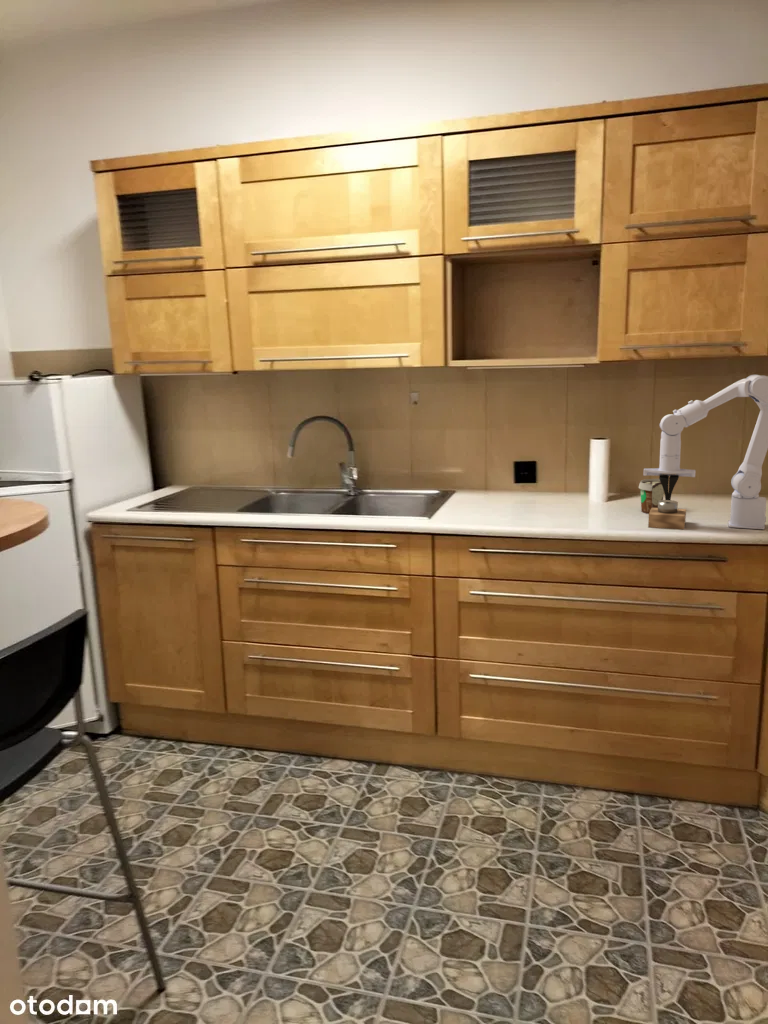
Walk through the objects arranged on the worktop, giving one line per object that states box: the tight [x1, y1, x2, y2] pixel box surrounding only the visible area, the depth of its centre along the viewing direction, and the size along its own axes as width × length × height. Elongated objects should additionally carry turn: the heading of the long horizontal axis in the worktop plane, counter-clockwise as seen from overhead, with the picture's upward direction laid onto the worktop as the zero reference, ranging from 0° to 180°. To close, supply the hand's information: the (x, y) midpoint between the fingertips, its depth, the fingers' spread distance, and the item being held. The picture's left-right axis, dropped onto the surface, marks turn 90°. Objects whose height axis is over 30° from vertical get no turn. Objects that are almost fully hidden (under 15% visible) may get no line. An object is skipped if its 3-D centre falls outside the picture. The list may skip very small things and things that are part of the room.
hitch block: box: [647, 508, 687, 530], centre depth 225 cm, size 10×10×4 cm
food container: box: [638, 478, 665, 515], centre depth 244 cm, size 12×6×10 cm, turn 141°
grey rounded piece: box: [658, 499, 679, 514], centre depth 225 cm, size 6×6×6 cm
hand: (668, 499), depth 224 cm, fingers closed
